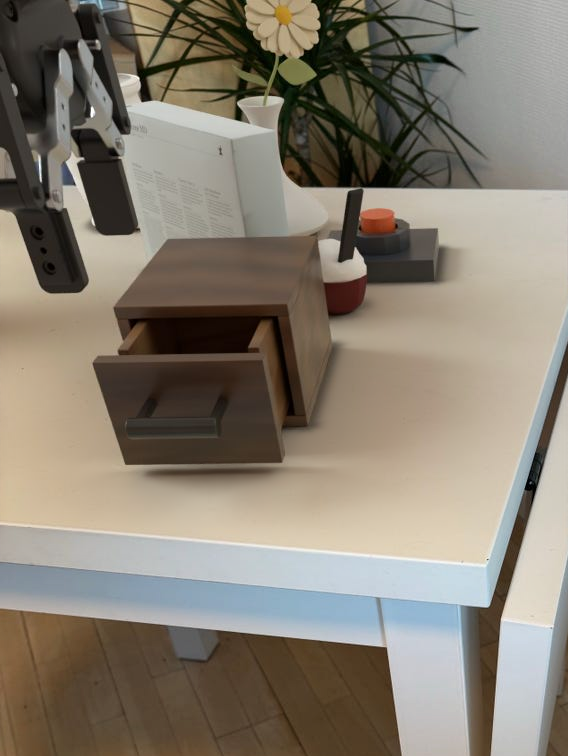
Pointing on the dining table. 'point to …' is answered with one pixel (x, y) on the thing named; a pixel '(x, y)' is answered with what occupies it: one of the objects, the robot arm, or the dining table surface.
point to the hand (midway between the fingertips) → (94, 260)
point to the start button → (377, 221)
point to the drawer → (198, 391)
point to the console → (397, 253)
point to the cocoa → (344, 262)
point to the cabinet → (243, 298)
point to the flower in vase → (289, 36)
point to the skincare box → (201, 176)
